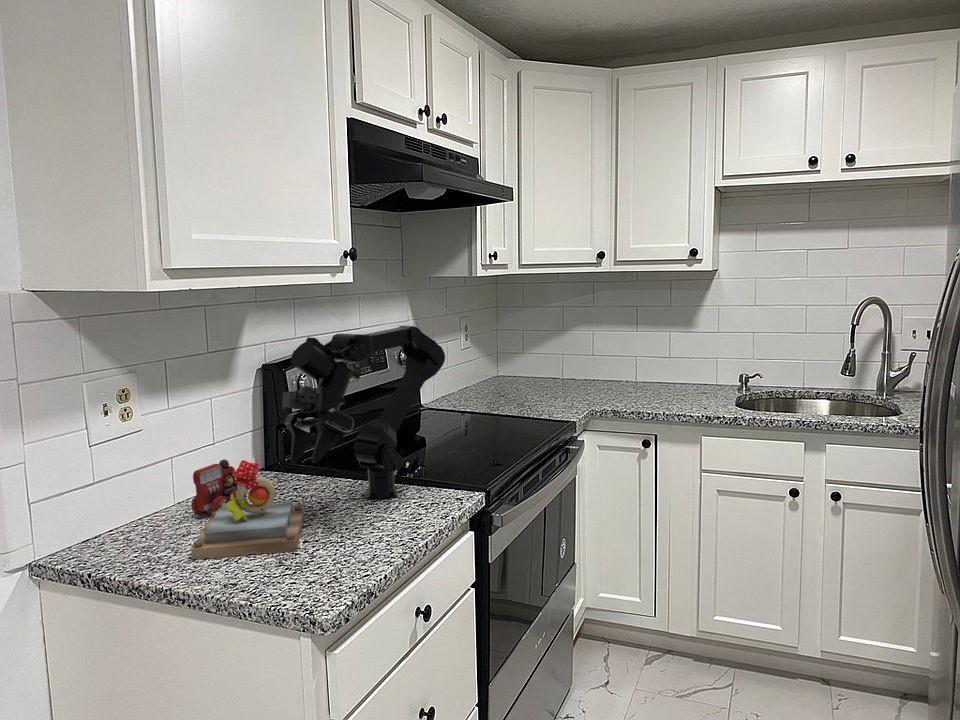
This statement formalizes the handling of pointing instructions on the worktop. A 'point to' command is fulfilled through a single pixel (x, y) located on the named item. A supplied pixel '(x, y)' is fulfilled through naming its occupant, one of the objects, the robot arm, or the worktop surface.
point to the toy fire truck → (213, 487)
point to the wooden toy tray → (250, 532)
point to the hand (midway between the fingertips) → (303, 462)
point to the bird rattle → (257, 494)
